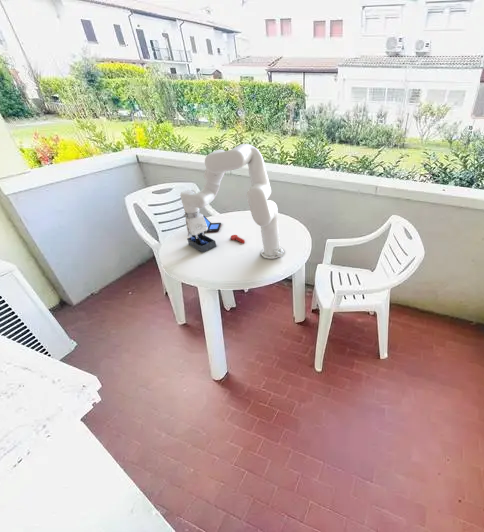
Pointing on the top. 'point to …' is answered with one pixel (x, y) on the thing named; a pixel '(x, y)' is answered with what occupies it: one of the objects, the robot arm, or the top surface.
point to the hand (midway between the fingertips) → (201, 242)
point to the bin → (202, 246)
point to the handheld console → (212, 225)
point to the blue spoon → (195, 240)
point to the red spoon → (237, 238)
